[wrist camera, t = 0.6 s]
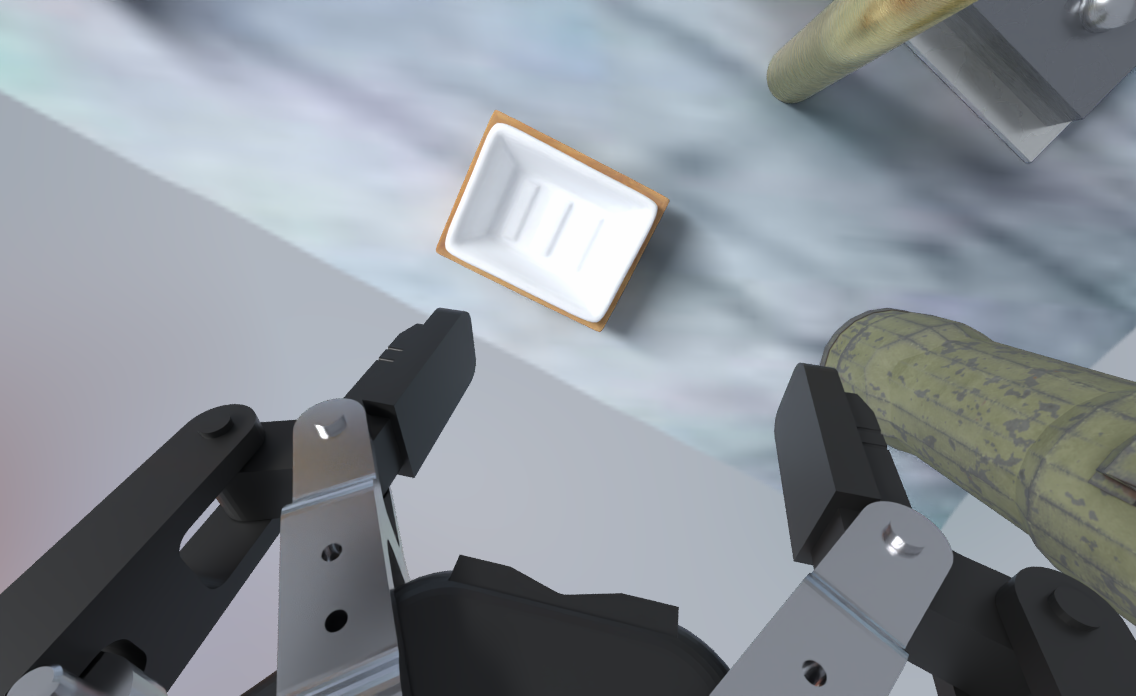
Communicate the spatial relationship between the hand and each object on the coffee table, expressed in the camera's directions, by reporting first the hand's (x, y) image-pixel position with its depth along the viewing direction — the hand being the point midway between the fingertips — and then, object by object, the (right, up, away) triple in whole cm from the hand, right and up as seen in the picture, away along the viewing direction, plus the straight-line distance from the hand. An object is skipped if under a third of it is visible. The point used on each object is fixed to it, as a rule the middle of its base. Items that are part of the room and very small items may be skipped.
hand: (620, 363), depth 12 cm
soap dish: (-2, +9, +23) cm, 25 cm away
